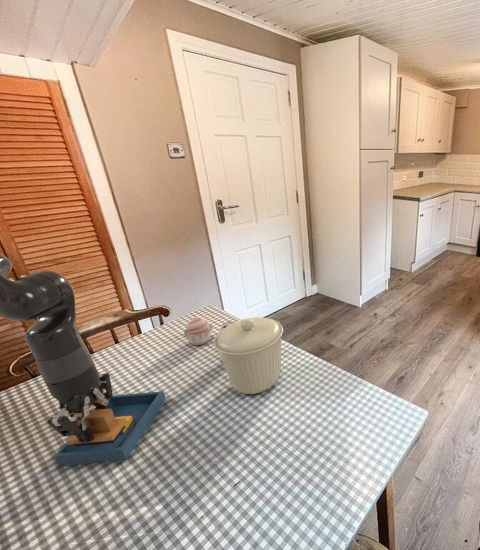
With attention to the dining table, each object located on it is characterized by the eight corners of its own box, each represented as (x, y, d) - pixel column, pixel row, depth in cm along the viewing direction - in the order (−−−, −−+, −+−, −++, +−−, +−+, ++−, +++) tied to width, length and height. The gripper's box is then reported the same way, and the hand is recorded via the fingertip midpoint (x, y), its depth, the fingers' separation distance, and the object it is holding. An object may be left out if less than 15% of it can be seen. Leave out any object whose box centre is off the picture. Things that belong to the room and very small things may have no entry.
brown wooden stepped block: (70, 448, 66) (58, 425, 63) (87, 429, 70) (76, 407, 68) (115, 444, 66) (104, 421, 64) (128, 425, 71) (119, 403, 68)
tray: (59, 468, 65) (53, 456, 64) (113, 405, 82) (109, 395, 80) (127, 461, 67) (122, 449, 65) (166, 401, 83) (163, 391, 82)
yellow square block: (105, 435, 72) (103, 430, 72) (116, 421, 76) (114, 417, 76) (123, 433, 73) (121, 428, 72) (133, 420, 76) (131, 415, 76)
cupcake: (203, 350, 104) (196, 325, 101) (180, 346, 107) (173, 321, 103) (221, 335, 113) (215, 311, 109) (199, 332, 115) (194, 309, 111)
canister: (242, 415, 78) (227, 347, 70) (214, 381, 90) (199, 320, 82) (300, 380, 90) (293, 318, 82) (269, 354, 102) (261, 298, 94)
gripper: (75, 348, 67) (101, 406, 74) (13, 396, 54) (51, 462, 60) (112, 346, 68) (134, 403, 74) (59, 392, 55) (92, 457, 61)
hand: (97, 429), depth 67 cm, fingers closed on brown wooden stepped block, 5 cm apart
